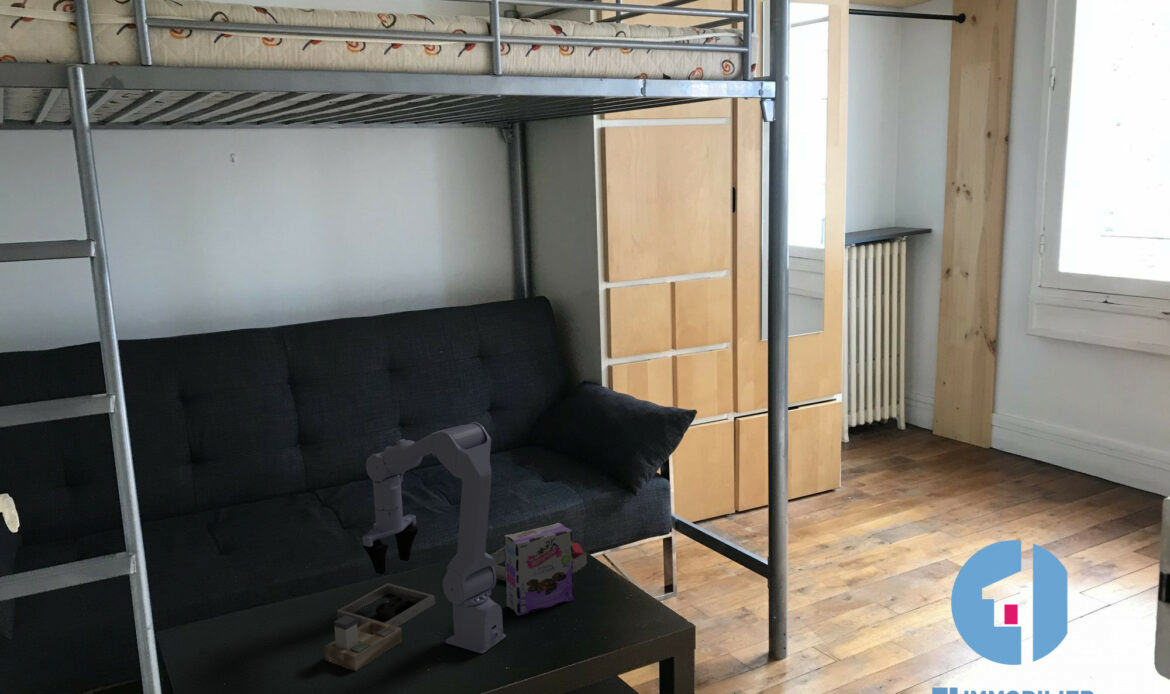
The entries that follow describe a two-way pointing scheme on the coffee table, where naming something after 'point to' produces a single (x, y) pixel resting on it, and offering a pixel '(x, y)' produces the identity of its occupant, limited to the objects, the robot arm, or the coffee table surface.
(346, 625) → the white upright block
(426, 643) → the coffee table surface
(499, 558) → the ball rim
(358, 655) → the socket block
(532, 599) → the candy box
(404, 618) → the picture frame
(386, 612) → the gaming controller
